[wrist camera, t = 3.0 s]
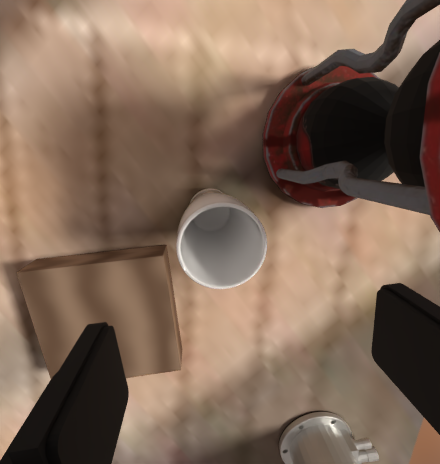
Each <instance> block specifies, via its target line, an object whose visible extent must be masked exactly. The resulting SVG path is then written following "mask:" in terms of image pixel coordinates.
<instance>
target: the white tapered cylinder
mask: <svg viewBox="0 0 440 464" xmlns="http://www.w3.org/2000/svg"><path fill="white" fill-rule="evenodd" d="M176 249H177V257H178V260H179V263H180V265H181V267H182V269H183V270H184V272H185V273H186V274H187V275H188V276H189V277H190V278H191V279H192V280H193V281H195V282H196V283H198V284H200V285H202V286H205V287H208V288H213V289H228V288H233V287H236V286H238V285H241V284H243V283H245V282H246V281H248V280H249V279H250V278H252V277H253V276H254V275H255V274H256V272H257V271H258V270H259V269H260V267H261V265H262V263H263V261H264V259H265V256H266V251H267V238H266V233H265V230H264V227H263V225H262V224H261V222H260V221H259V219H258V218H257V217H256V215H255V214H254V213H253V212H252V211H251V210H250V209H249V208H248V207H247V206H246V205H245V204H244V203H243V202H241V201H240V200H238V199H236V198H234V197H232V196H230V195H227V194H224V193H223V192H221V191H219V190H217V189H204V190H201V191H199V192H198V193H196V194H195V195H194V196H193V198H192V199H191V201H190V204H189V206H188V207H187V209H186V210H185V212H184V214H183V216H182V218H181V220H180V223H179V227H178V232H177V245H176Z"/></svg>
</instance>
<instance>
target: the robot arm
mask: <svg viewBox="0 0 440 464" xmlns="http://www.w3.org/2000/svg"><path fill="white" fill-rule="evenodd" d="M372 356H373V359H374V361H375V362H376V363H377V365H378V366H379V367H380V368H381V369H382V370H383V371H384V372H385V374H386V375H387V376H388V377H389V378H390V379H391V380H392V382H393V383H394V384H395V385H396V386H397V387H398V388H399V389H400V391H401V392H402V393H403V394H404V395H405V396H406V397H407V398H408V400H409V401H410V402H411V403H412V404H413V405H414V406H415V407H416V409H417V410H418V411H419V412H420V413H421V414H422V415H423V417H424V418H425V419H426V420H427V421H428V422H429V423H430V424H431V426H432V427H433V428H434V429H435V430H436V431H437V432H438V433H439V435H440V307H439V306H438V305H436V304H434V303H433V302H431V301H429V300H428V299H426V298H425V297H423V296H421V295H420V294H418V293H416V292H415V291H413V290H412V289H410V288H408V287H407V286H405V285H403V284H401V283H396V284H389V285H383V286H382V287H381V289H380V290H379V291H378V292H377V299H376V309H375V320H374V331H373V342H372ZM127 402H128V386H127V381H126V377H125V373H124V368H123V364H122V360H121V356H120V351H119V347H118V343H117V339H116V334H115V330H114V327H113V326H108V324H107V322H101V323H94V324H88V325H87V326H86V327H85V329H84V330H83V332H82V334H81V335H80V337H79V338H78V340H77V342H76V343H75V345H74V346H73V348H72V350H71V351H70V353H69V355H68V356H67V358H66V359H65V361H64V363H63V364H62V366H61V368H60V369H59V371H58V372H57V373H56V374H55V375H54V376H53V377H52V379H51V380H50V382H49V384H48V385H47V387H46V388H45V390H44V392H43V393H42V395H41V396H40V398H39V400H38V401H37V403H36V404H35V406H34V408H33V409H32V411H31V412H30V414H29V416H28V417H27V419H26V420H25V422H24V424H23V425H22V427H21V428H20V430H19V432H18V433H17V435H16V436H15V438H14V440H13V441H12V443H11V444H10V446H9V448H8V449H7V451H6V452H5V454H4V456H3V457H2V459H1V460H0V464H111V463H112V459H113V455H114V452H115V448H116V444H117V440H118V436H119V432H120V429H121V425H122V421H123V417H124V413H125V409H126V406H127ZM279 450H280V454H281V457H282V460H283V461H284V463H285V464H361V463H363V462H372V461H378V460H379V456H378V453H377V451H376V449H375V448H374V446H372V445H371V442H370V440H369V439H368V438H363V439H360V440H354V439H352V432H351V430H350V428H349V426H348V424H347V423H346V421H345V420H344V419H343V418H342V417H340V416H338V415H336V414H333V413H329V412H315V413H310V414H307V415H304V416H302V417H300V418H298V419H296V420H295V421H293V422H292V423H291V424H290V425H289V426H288V427H287V428H286V429H285V430H284V432H283V434H282V436H281V438H280V441H279Z"/></svg>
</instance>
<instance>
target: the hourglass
mask: <svg viewBox="0 0 440 464" xmlns="http://www.w3.org/2000/svg"><path fill="white" fill-rule="evenodd" d="M438 5H440V0H406V2H405V3H404V5H403V6H402V7H401V9H400V10H399V12H398V13H397V15H396V16H395V17H394V19H393V20H392V22H391V23H390V25H389V27H388V31H387V34H386V37H385V40H384V43H383V44H382V45H381V46H380V47H379V48H378V49H377V50H376V51H375V52H373V53H369V54H363V53H361V52H359V51H357V50H355V49H345V50H338V51H336V52H335V53H334V54H332V55H331V56H330V57H328V58H327V59H325V60H324V61H323V62H321V63H320V64H319V65H317V66H316V67H314V68H312V69H309V70H307V71H305V72H303V73H301V74H300V75H299V76H297V77H296V78H295V79H294V80H293V81H292V82H291V83H290V84H289V85H287V86H286V87H285V88H284V89H283V90H282V91H281V92H280V93H279V95H278V97H277V98H276V100H275V102H274V104H273V105H272V107H271V109H270V110H269V112H268V115H267V119H266V123H265V127H264V131H263V157H264V160H265V163H266V166H267V168H268V171H269V174H270V177H271V178H272V179H273V180H274V182H275V183H276V184H277V186H278V187H279V188H280V189H281V191H282V192H283V193H285V194H287V195H288V196H290V197H291V198H293V199H295V200H296V201H298V202H300V203H302V204H306V205H311V206H315V207H320V208H324V207H333V206H341V205H343V204H346V203H348V202H350V201H353V200H355V199H357V198H361V199H365V200H370V201H374V202H378V203H382V204H386V205H390V206H395V207H399V208H403V209H407V210H411V211H415V212H419V213H424V214H428V215H430V216H431V219H432V220H433V222H434V223H435V225H436V227H437V228H438V230H439V232H440V40H439V41H438V42H437V43H436V44H435V45H433V46H432V47H431V48H430V49H429V50H428V51H427V52H425V53H424V54H423V55H422V57H421V58H420V59H419V60H418V62H417V63H416V64H415V66H414V67H413V68H412V70H411V71H410V72H409V74H408V75H407V77H406V78H405V80H404V81H403V83H402V84H401V86H400V87H397V86H396V85H395V84H392V83H390V82H388V81H385V80H382V79H380V78H378V77H377V76H376V75H375V74H373V73H375V72H381V71H382V70H383V69H384V68H386V67H387V66H388V65H389V64H390V63H391V62H392V61H393V60H394V59H395V58H396V57H397V55H398V54H399V53H400V51H401V49H402V46H403V43H404V40H405V37H406V34H407V31H408V30H409V28H410V27H411V26H412V24H413V23H414V22H415V20H416V19H417V18H419V17H420V16H422V15H424V14H425V13H427V12H428V11H430V10H432V9H433V8H435V7H437V6H438ZM393 172H394V173H395V174H396V176H397V178H398V179H399V181H400V182H401V183H402V184H399V183H391V182H383V181H382V180H384V179H385V178H387V177H388V176H389V175H391V174H392V173H393Z"/></svg>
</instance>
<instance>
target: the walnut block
mask: <svg viewBox="0 0 440 464" xmlns="http://www.w3.org/2000/svg"><path fill="white" fill-rule="evenodd" d="M17 277H18V280H19V283H20V286H21V289H22V292H23V295H24V298H25V301H26V304H27V307H28V310H29V313H30V316H31V319H32V323H33V326H34V329H35V332H36V335H37V338H38V341H39V344H40V347H41V350H42V353H43V356H44V359H45V362H46V365H47V368H48V372H49V375H50V378H51V379H52V377H53V376H54V375H55V374H56V373H57V372H58V371H59V369H60V368H61V366H62V364H63V363H64V361H65V359H66V358H67V356H68V355H69V353H70V351H71V350H72V348H73V346H74V345H75V343H76V342H77V340H78V338H79V337H80V335H81V334H82V332H83V330H84V329H85V327H86V326H87V325H88V324H94V323H101V322H107V324H108V326H113V327H114V330H115V334H116V339H117V343H118V347H119V351H120V356H121V360H122V364H123V368H124V373H125V377H126V378H130V377H137V376H144V375H150V374H157V373H164V372H171V371H178V370H181V361H182V345H181V338H180V331H179V325H178V318H177V311H176V305H175V298H174V291H173V285H172V278H171V272H170V265H169V258H168V252H167V245H160V246H151V247H142V248H133V249H124V250H115V251H106V252H97V253H88V254H80V255H71V256H62V257H53V258H44V259H36V260H35V261H33V262H32V263H30V264H29V265H27V266H26V267H24V268H23V269H21V270H20V271H18V272H17Z"/></svg>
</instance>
